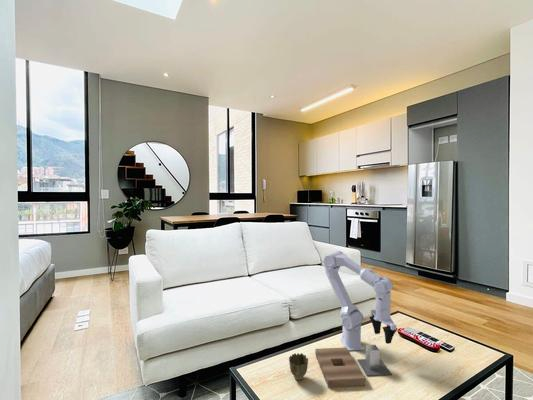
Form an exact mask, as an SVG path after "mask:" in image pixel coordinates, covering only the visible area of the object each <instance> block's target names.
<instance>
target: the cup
mask: <svg viewBox="0 0 533 400" xmlns="http://www.w3.org/2000/svg"><path fill="white" fill-rule="evenodd" d="M289 355H290V354H289ZM288 362H289V369H290V372H291V374H292V375H293V377H294V380H296V381H298V380H300V381H302V380H303V379H304V377H305V375H306V374H307V371H308V366H309V358H308V357H307V355H306V354H303V353H299V352H297V354H296V353H292V354H291V355H290V356H289V357H288Z"/></svg>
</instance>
